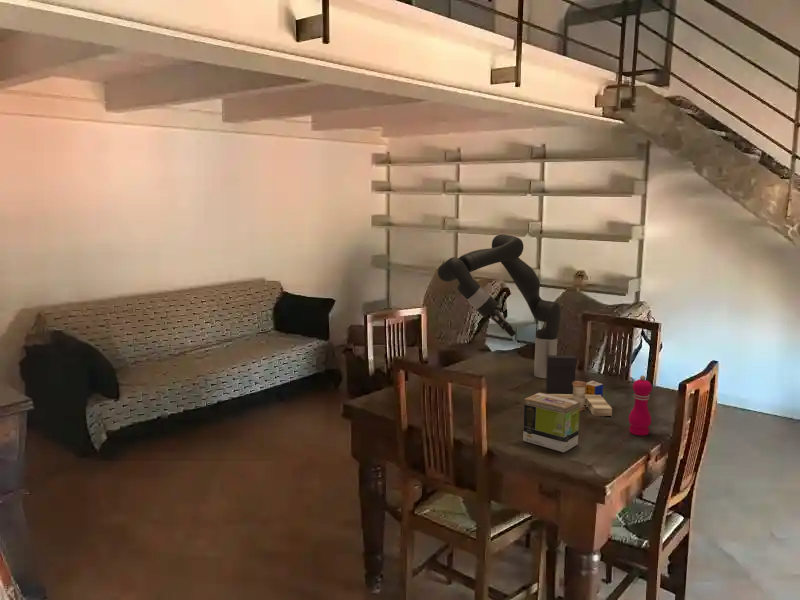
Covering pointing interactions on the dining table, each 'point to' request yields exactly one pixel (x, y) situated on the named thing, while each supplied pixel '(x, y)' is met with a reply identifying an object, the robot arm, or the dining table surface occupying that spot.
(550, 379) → the black rectangular block
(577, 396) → the spool
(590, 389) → the puzzle toy
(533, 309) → the robot arm
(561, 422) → the tea box
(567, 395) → the notch board
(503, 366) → the dining table surface
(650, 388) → the pepper mill
